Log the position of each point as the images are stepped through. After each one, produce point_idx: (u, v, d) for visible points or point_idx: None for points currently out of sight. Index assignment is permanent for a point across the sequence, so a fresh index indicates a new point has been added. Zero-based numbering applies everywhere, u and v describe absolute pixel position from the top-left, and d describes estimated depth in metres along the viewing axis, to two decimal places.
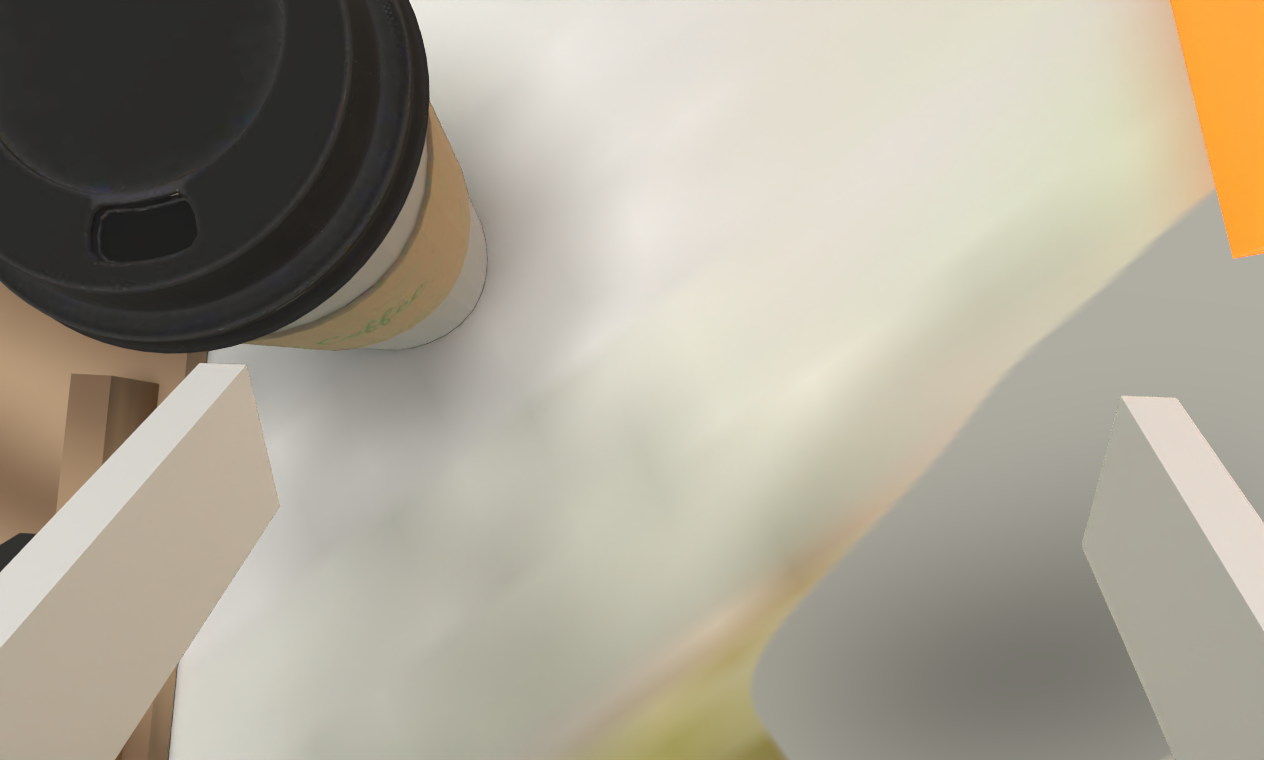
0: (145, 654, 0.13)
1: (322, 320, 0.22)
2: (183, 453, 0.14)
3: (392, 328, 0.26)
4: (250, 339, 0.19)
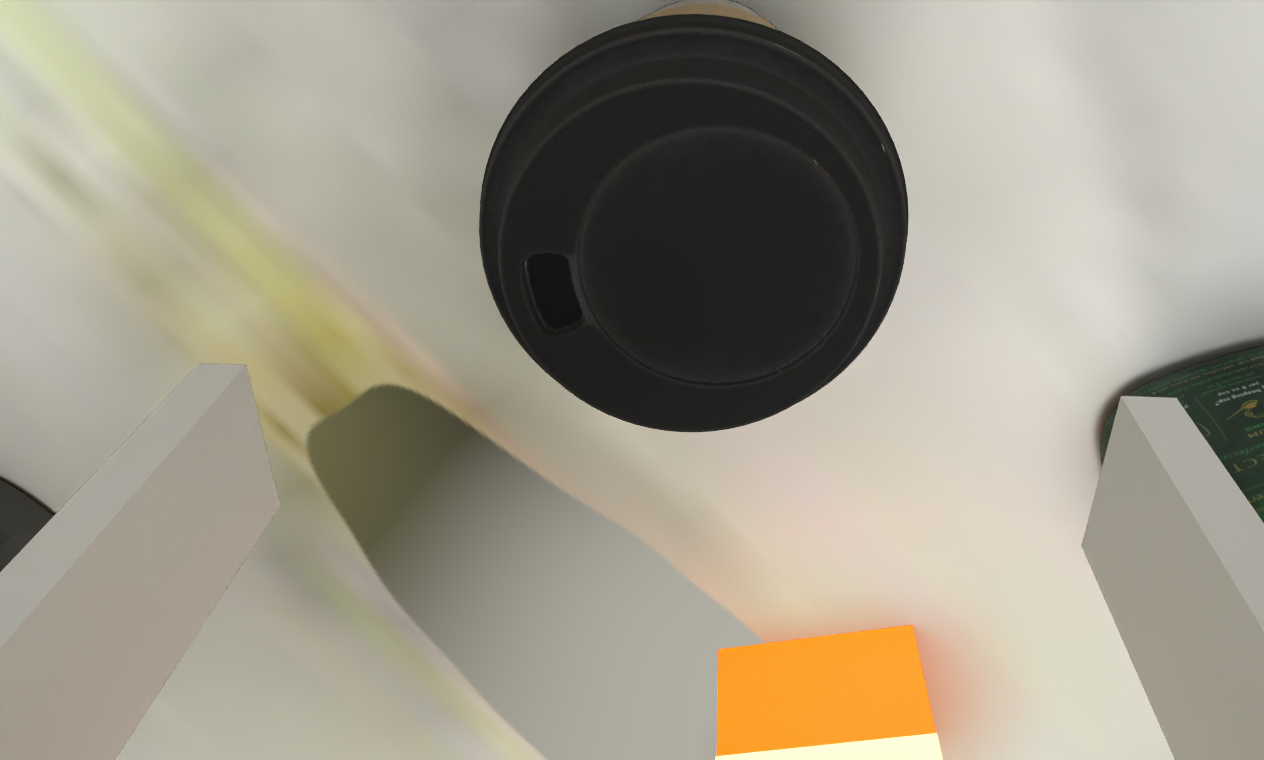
0: (145, 654, 0.13)
1: None
2: (183, 453, 0.14)
3: None
4: None
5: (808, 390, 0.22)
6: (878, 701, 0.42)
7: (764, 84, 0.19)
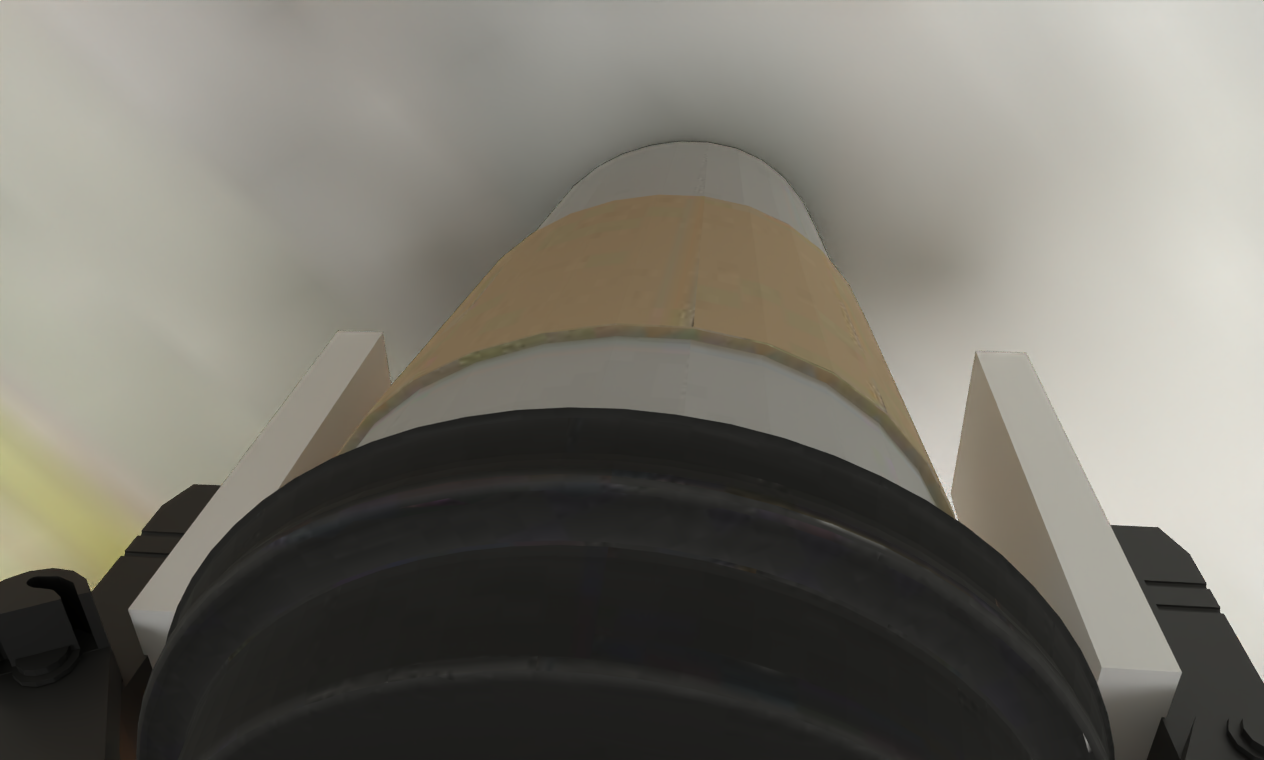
0: None
1: None
2: (339, 411, 0.15)
3: None
4: None
5: None
6: None
7: (790, 661, 0.07)
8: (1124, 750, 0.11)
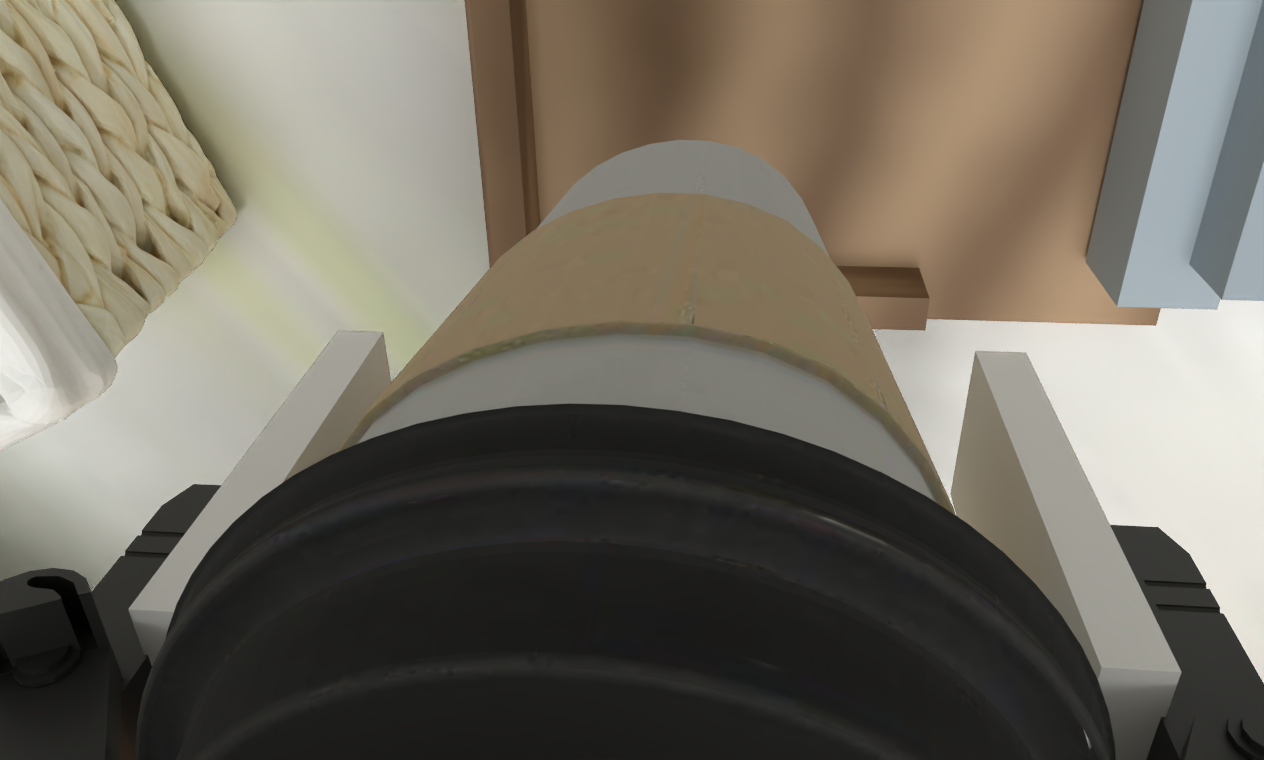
0: None
1: None
2: (339, 411, 0.15)
3: None
4: None
5: None
6: None
7: (790, 657, 0.07)
8: (1123, 750, 0.11)
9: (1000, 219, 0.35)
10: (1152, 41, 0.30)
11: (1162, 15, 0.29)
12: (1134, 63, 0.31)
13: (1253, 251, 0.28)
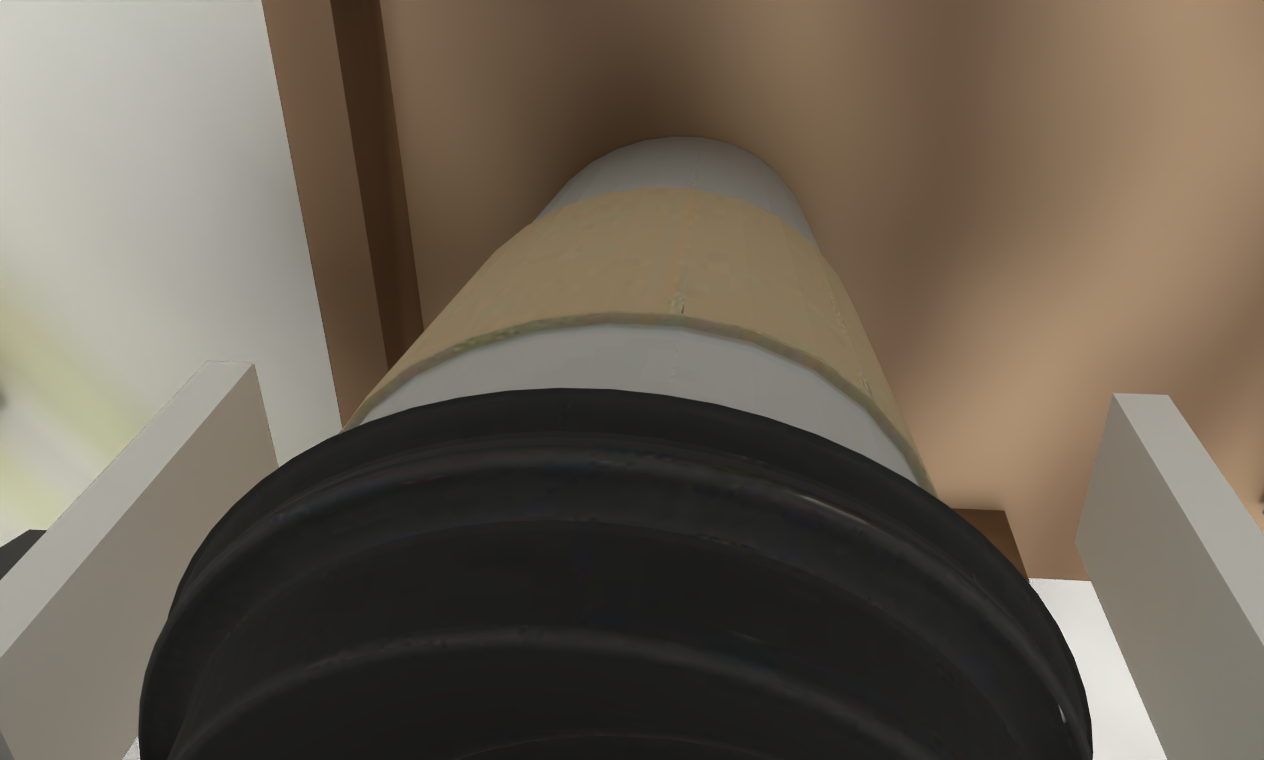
0: None
1: None
2: (191, 451, 0.14)
3: None
4: None
5: None
6: None
7: (772, 630, 0.07)
8: None
9: None
10: None
11: None
12: None
13: None
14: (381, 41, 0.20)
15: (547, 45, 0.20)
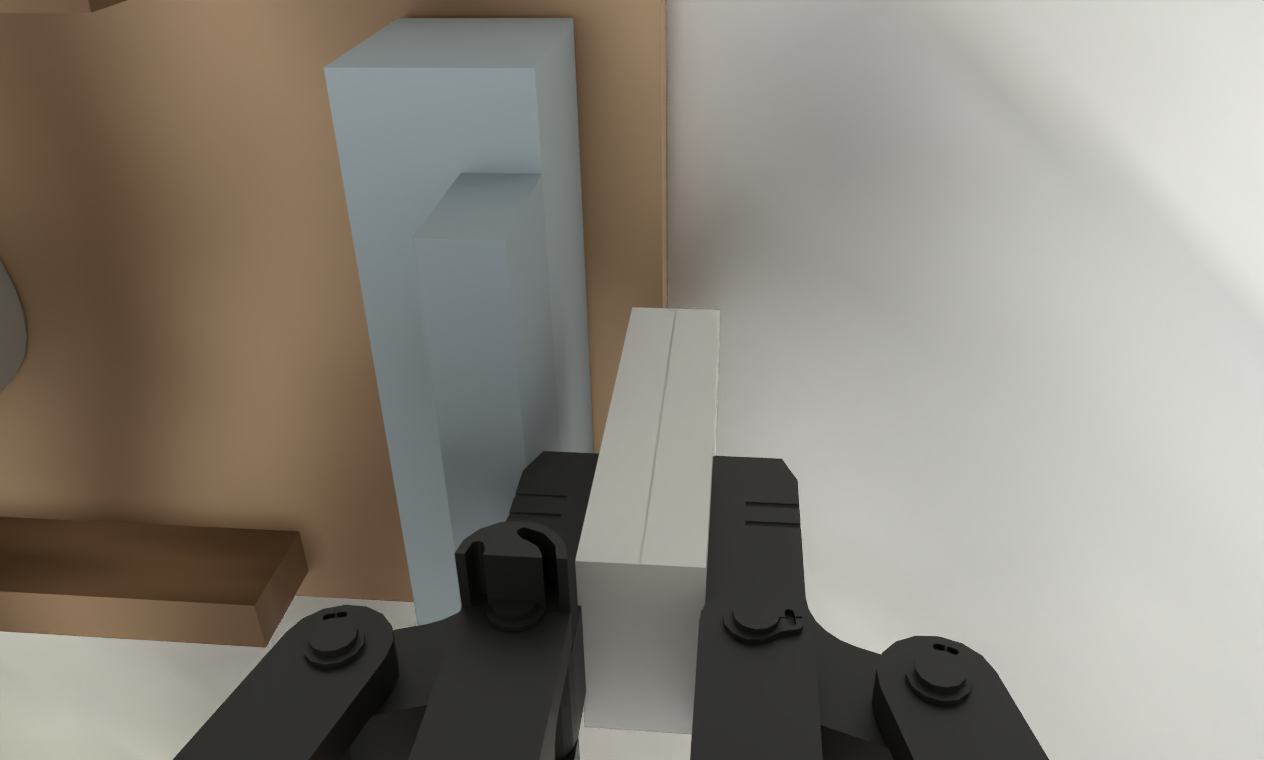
0: None
1: None
2: (667, 383, 0.15)
3: None
4: None
5: None
6: None
7: None
8: (679, 641, 0.12)
9: None
10: None
11: None
12: None
13: None
14: None
15: None
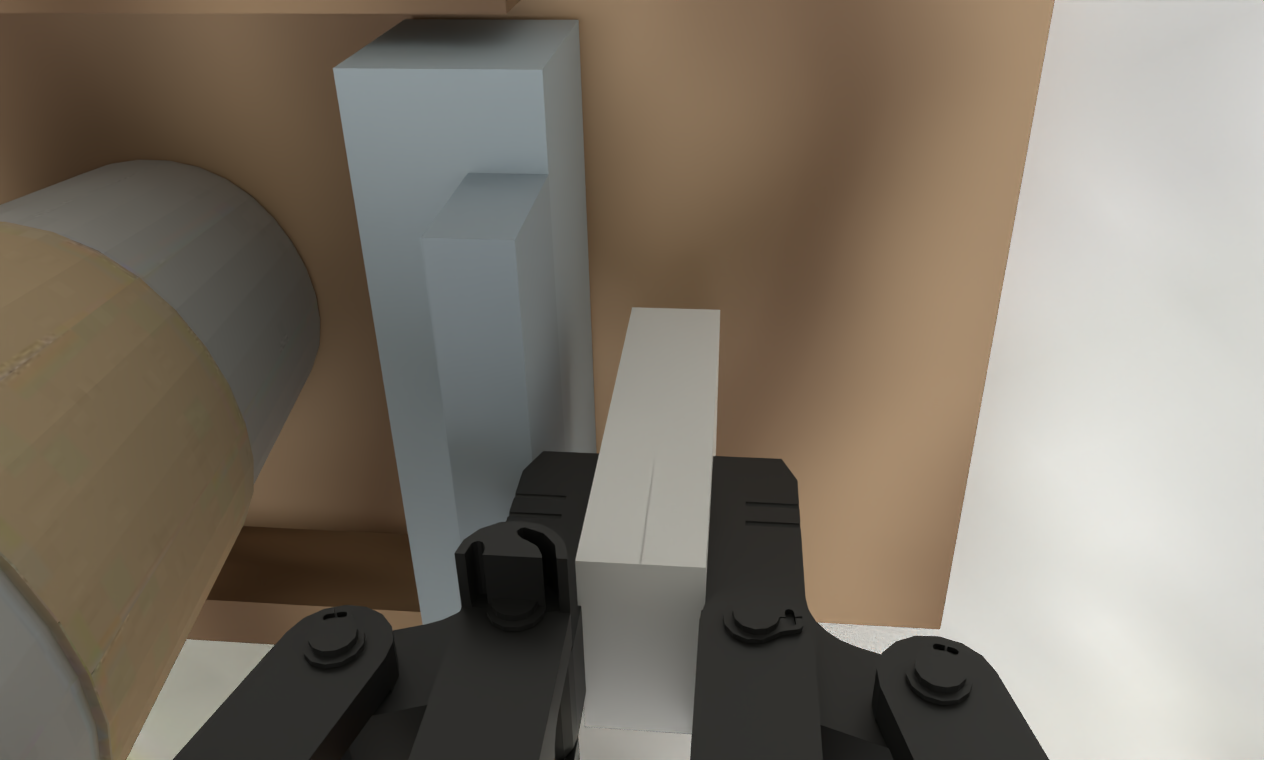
0: None
1: None
2: (668, 382, 0.15)
3: None
4: None
5: None
6: None
7: None
8: (679, 641, 0.12)
9: None
10: None
11: None
12: None
13: None
14: None
15: None
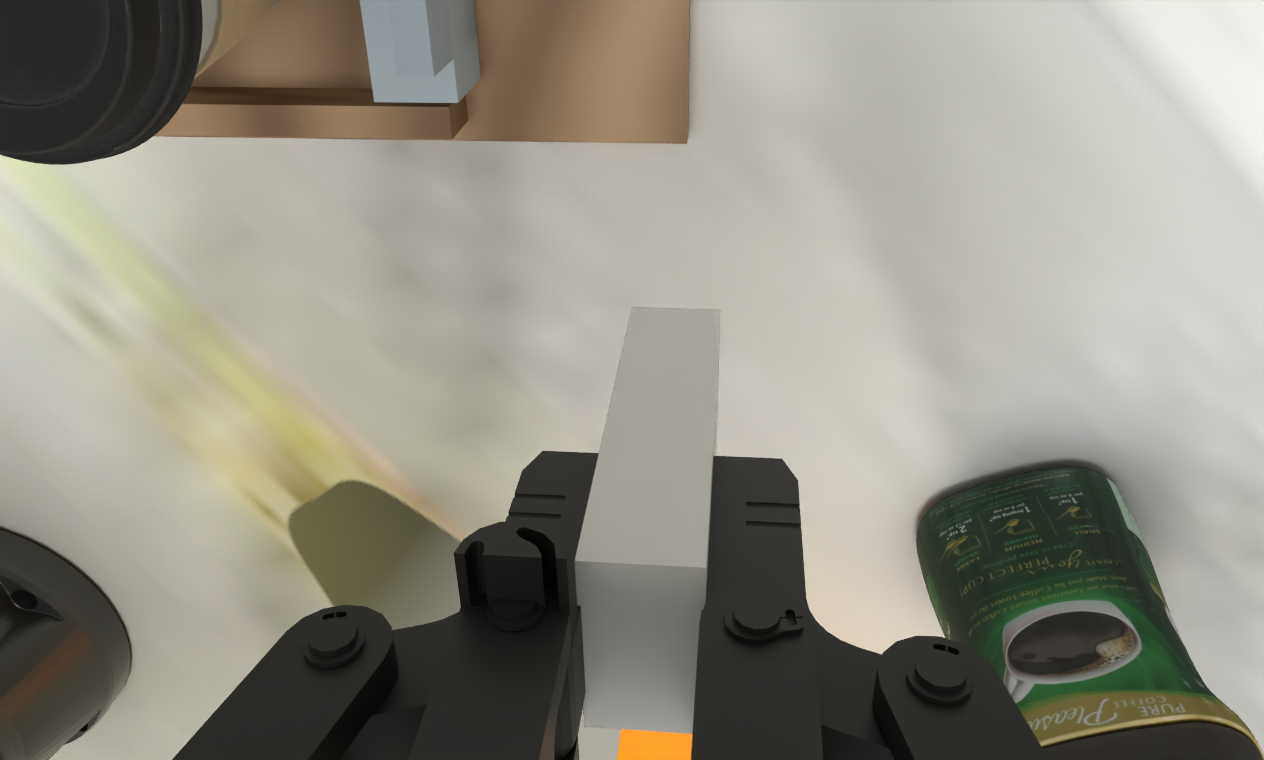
0: None
1: None
2: (667, 382, 0.15)
3: None
4: None
5: (103, 109, 0.25)
6: None
7: None
8: (679, 641, 0.12)
9: (526, 39, 0.38)
10: None
11: None
12: None
13: (405, 28, 0.32)
14: None
15: None
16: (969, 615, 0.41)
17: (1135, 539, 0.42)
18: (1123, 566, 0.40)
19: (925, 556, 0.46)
